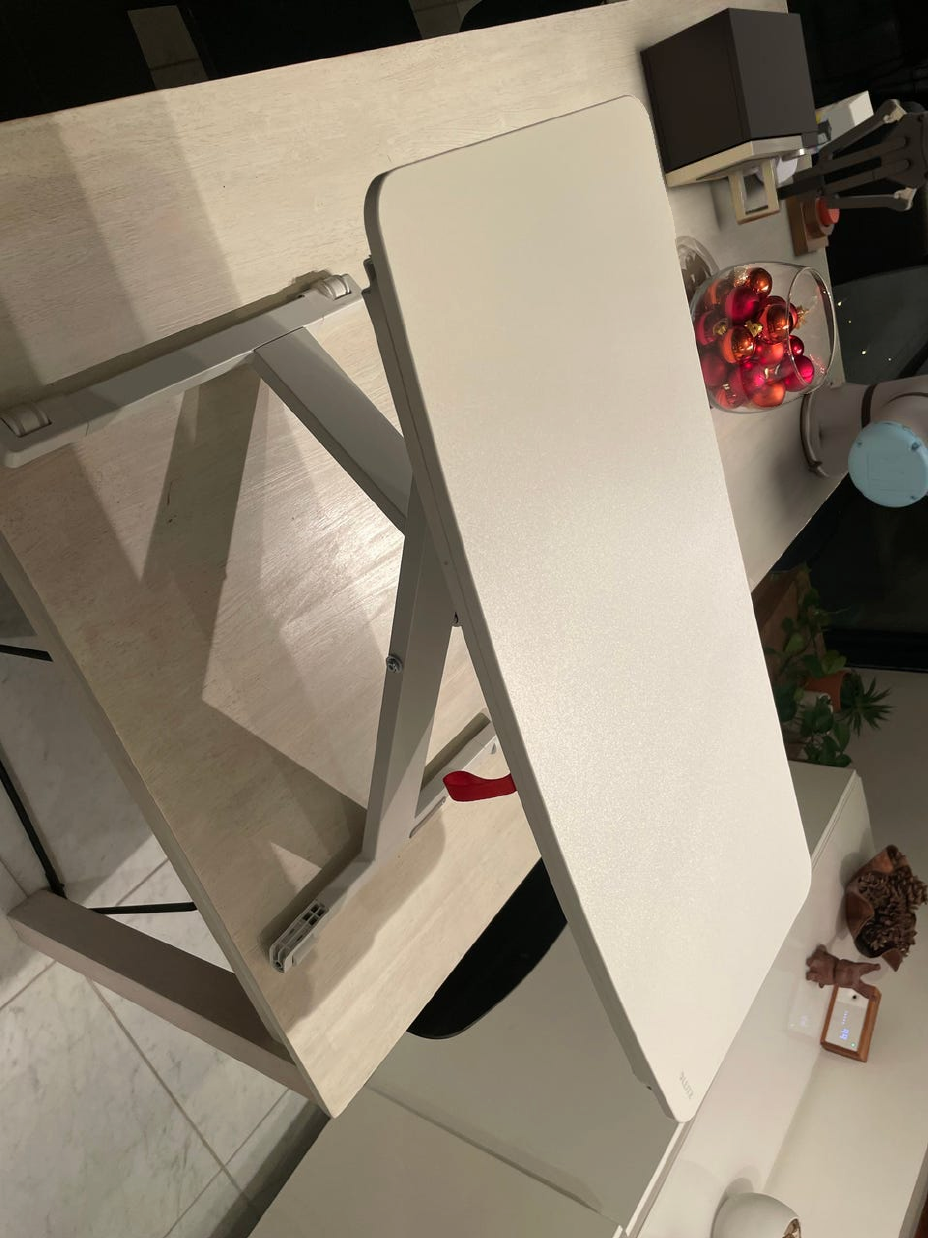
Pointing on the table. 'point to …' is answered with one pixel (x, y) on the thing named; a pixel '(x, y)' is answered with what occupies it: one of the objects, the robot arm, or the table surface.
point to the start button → (827, 213)
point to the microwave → (730, 86)
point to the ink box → (840, 119)
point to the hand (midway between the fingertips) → (772, 196)
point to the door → (733, 166)
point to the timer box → (807, 226)
